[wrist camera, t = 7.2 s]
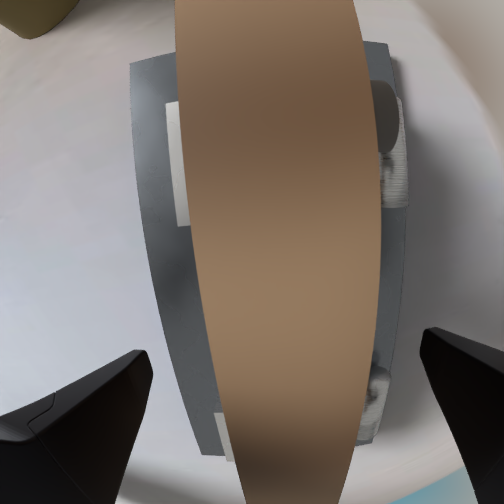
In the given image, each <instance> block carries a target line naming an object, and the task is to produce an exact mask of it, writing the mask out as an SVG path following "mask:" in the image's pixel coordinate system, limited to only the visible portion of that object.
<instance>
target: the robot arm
mask: <svg viewBox="0 0 504 504" xmlns="http://www.w3.org/2000/svg"><path fill="white" fill-rule="evenodd" d="M420 358H421V360H422V363H423V366H424V368H425V371H426V374H427V376H428V379H429V382H430V385H431V388H432V390H433V393H434V395H435V397H436V399H437V401H438V403H439V406H440V408H441V410H442V412H443V414H444V416H445V419H446V421H447V423H448V425H449V428H450V430H451V432H452V435H453V437H454V439H455V442H456V444H457V447H458V449H459V452H460V454H461V457H462V459H463V462H464V464H465V467H466V469H467V472H468V475H469V477H470V480H471V483H472V486H473V489H474V490H475V491H474V492H475V495H476V498H477V501H478V504H504V352H503V351H500V350H497V349H495V348H492V347H489V346H486V345H484V344H481V343H478V342H475V341H473V340H470V339H467V338H465V337H462V336H459V335H456V334H454V333H451V332H448V331H445V330H443V329H440V328H437V327H432V328H427V329H425V330H424V332H423V337H422V341H421V346H420ZM152 379H153V370H152V366H151V363H150V360H149V357H148V354H147V352H146V351H145V350H132V351H131V352H129V353H127V354H125V355H123V356H121V357H120V358H118V359H116V360H114V361H112V362H110V363H109V364H107V365H105V366H103V367H101V368H99V369H97V370H96V371H94V372H92V373H90V374H88V375H86V376H84V377H82V378H81V379H79V380H77V381H75V382H73V383H71V384H69V385H67V386H65V387H63V388H62V389H60V390H58V391H56V393H55V392H54V393H52V394H50V395H48V396H46V397H44V398H42V399H40V400H38V401H36V402H34V403H31V404H29V405H27V406H24V407H22V408H20V409H17V410H15V411H12V412H10V413H7V414H5V415H2V416H0V504H115V501H116V498H117V495H118V492H119V488H120V485H121V482H122V479H123V476H124V473H125V470H126V467H127V464H128V460H129V457H130V454H131V451H132V448H133V446H134V443H135V440H136V437H137V434H138V431H139V428H140V425H141V422H142V420H143V416H144V413H145V409H146V405H147V401H148V396H149V392H150V387H151V383H152Z"/></svg>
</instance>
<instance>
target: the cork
mask: <svg viewBox="0 0 504 504" xmlns="http://www.w3.org/2000/svg"><path fill="white" fill-rule="evenodd" d="M78 1H79V0H0V24H1V25H3V26H5V27H6V28H8V29H9V30H11V31H12V32H14V33H15V34H17V35H18V36H20V37H22V38H24V39H33V38H36V37H39V36H41V35H43V34H44V33H46V32H48V31H49V30H51V29H52V28H53V27H55V26H56V25H57V24H58V23H59V22H60V21H62V20H63V19H64V18H65V17H66V16H67V14H68V13H69V12H70V11H71V10H72V9H73V8H74V7H75V5H76V4H77V2H78Z"/></svg>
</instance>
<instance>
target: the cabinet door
mask: <svg viewBox="0 0 504 504" xmlns="http://www.w3.org/2000/svg"><path fill="white" fill-rule="evenodd" d="M175 42H176V68H177V87H178V103H179V118H180V130H181V142H182V153H183V164H184V174H185V183H186V192H187V201H188V209H189V217H190V225H191V233H192V240H193V248H194V255H195V262H196V268H197V275H198V281H199V288H200V294H201V300H202V306H203V312H204V318H205V324H206V329H207V335H208V340H209V345H210V351H211V356H212V361H213V366H214V371H215V376H216V381H217V386H218V390H219V395H220V400H221V404H222V409H223V413H224V418H225V422H226V426H227V431H228V435H229V439H230V443H231V447H232V451H233V455H234V459H235V463H236V467H237V471H238V475H239V478H240V482H241V486H242V489H243V493H244V497H245V500H246V504H338V502H339V499H340V496H341V493H342V490H343V487H344V483H345V480H346V477H347V473H348V470H349V466H350V462H351V459H352V455H353V451H354V447H355V443H356V439H357V435H358V430H359V426H360V421H361V417H362V412H363V407H364V402H365V396H366V391H367V385H368V379H369V373H370V367H371V360H372V353H373V345H374V337H375V328H376V318H377V307H378V295H379V279H380V257H381V191H380V169H379V154H378V152H383V153H387V152H390V151H391V150H392V149H393V148H394V146H395V144H396V141H397V138H398V133H399V108H398V103H397V99H396V96H395V93H394V91H393V89H392V87H391V86H390V85H389V84H388V83H387V82H386V81H381V80H370V77H369V71H368V66H367V60H366V55H365V50H364V45H363V40H362V36H361V31H360V27H359V23H358V18H357V14H356V11H355V7H354V3H353V0H175Z"/></svg>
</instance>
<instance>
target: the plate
mask: <svg viewBox="0 0 504 504" xmlns="http://www.w3.org/2000/svg"><path fill="white" fill-rule="evenodd" d="M363 45H364V50H365V55H366V60H367V66H368V71H369V77H370V80H381V81H386V82H387V83H388V84H389V85H390V86H391V87H392V89H393V91H394V93H395V96H396V99H397V103H398V108H399V133H398V138H397V141H396V144H395V146H394V148H393V149H392V150H391V151H390V152H387V153H383V152H378V154H379V169H380V191H381V257H380V279H379V295H378V307H377V318H376V328H375V337H374V345H373V353H372V360H371V367H370V373H369V379H368V385H367V391H366V396H365V402H364V407H363V412H362V417H361V421H360V426H359V430H358V435H357V439H356V443H355V446H359V445H364V444H369V443H372V440H373V437H374V436H375V435H376V433H377V431H378V428H379V425H380V421H381V417H382V414H383V410H384V406H385V402H386V398H387V394H388V389H389V385H390V380H391V374H390V367H391V362H392V356H393V350H394V344H395V338H396V332H397V325H398V317H399V309H400V300H401V290H402V279H403V265H404V247H405V207H407V206H409V193H408V166H407V151H406V138H405V128H404V119H403V111H402V103H401V99H400V98H398V97H397V93H396V86H395V80H394V75H393V69H392V64H391V59H390V54H389V49H388V45H387V44H385V43H377V42H368V41H363ZM130 98H131V120H132V135H133V148H134V159H135V170H136V179H137V188H138V196H139V203H140V211H141V218H142V224H143V231H144V237H145V243H146V249H147V255H148V260H149V266H150V271H151V276H152V281H153V286H154V291H155V296H156V300H157V305H158V309H159V314H160V318H161V322H162V326H163V330H164V334H165V338H166V342H167V346H168V350H169V354H170V358H171V361H172V365H173V368H174V372H175V375H176V379H177V382H178V386H179V389H180V392H181V395H182V399H183V402H184V405H185V408H186V411H187V414H188V417H189V420H190V423H191V426H192V429H193V432H194V435H195V438H196V440H197V443H198V446H199V449H200V451H201V454H202V455H215V456H226V460H227V461H232V462H235V459H234V455H233V451H232V447H231V443H230V439H229V435H228V431H227V426H226V422H225V418H224V413H223V409H222V404H221V400H220V395H219V390H218V386H217V381H216V376H215V371H214V366H213V361H212V356H211V351H210V345H209V340H208V335H207V329H206V324H205V318H204V312H203V306H202V300H201V294H200V288H199V281H198V275H197V268H196V262H195V255H194V248H193V240H192V233H191V225H190V217H189V209H188V201H187V192H186V183H185V174H184V164H183V153H182V142H181V130H180V118H179V103H178V87H177V68H176V52H174V53H169V54H165V55H161V56H157V57H153V58H149V59H145V60H141V61H138V62H134V63H131V64H130Z"/></svg>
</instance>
